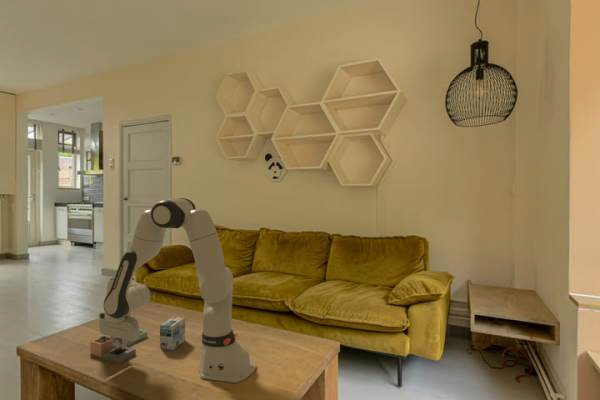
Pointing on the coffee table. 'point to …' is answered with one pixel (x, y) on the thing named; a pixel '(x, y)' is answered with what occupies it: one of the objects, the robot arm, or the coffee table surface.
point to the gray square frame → (118, 358)
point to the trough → (142, 335)
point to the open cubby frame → (100, 347)
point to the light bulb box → (172, 333)
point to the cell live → (118, 346)
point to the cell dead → (103, 339)
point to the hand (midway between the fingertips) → (119, 347)
